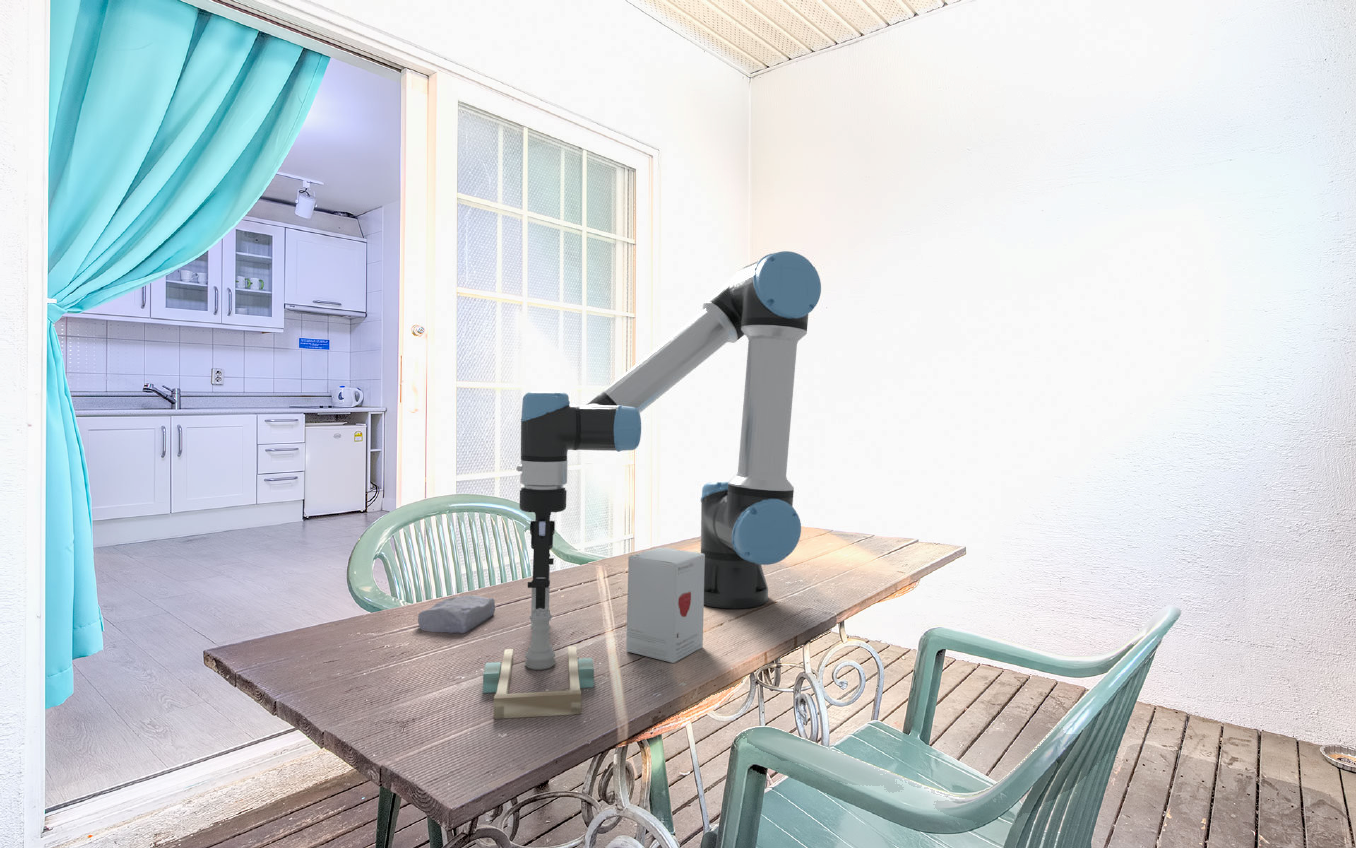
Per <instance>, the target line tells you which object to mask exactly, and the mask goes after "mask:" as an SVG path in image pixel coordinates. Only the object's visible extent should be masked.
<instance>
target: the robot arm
mask: <svg viewBox="0 0 1356 848" xmlns="http://www.w3.org/2000/svg"><path fill="white" fill-rule="evenodd" d="M821 283H822V282H821V278H820V275H819V272H818V271H817V269H816V266H814V265H813V264H812V263H811V261H810V260H809V259H808V258H806V257H805V256H804V255H802V254H800V253H797V252H794V251H788V250H786V251H785V250H782V251H778V252H773V253H769V254H767V255H764V256H763V257H762V258H760V259H759V260H757V261H755V262H753V263H751V264H748V265H746V266H745V267H743V268H741V269H740V270H738V271H737V273H735V274H734V275H733V276H732V277H731V278H730V279H729V280H728V281H727V282H726V283H725V284H724V285H723V286H722V287H721V288H720V289H719V290H718V291H717V292H715V294H714V295H712V296H711V297H709V299H707V300H706V301H705V302H704V303H703V304H702V310H701V312H700V313H699V314H697V315H696V316H695V317H694V318H692V319H691V320H690V321H688V322H687V323H686V324H685V325H684V326H683V327H681V328H680V329H678V330H677V331H676V332H675V333H674V334H673V335H671V336H670V337H669V338H668V339H666V340H665V341H663V342H662V343H661V344H660V345H658V347H656V348H655V349H654V350H652V351H651V352H650V353H649V354H648V355H646V356H645V357H644V358H643V359H641V360H640V361H639V362H637V364H635V365H634V366H633V367H631V368H630V369H629V370H628V371H627V372H625V373H624V374H623V375H621V376H620V377H619V378H617V380H615V381H614V382H613V383H611V384H610V385H609V386H608V387H607V388H605V389H603V391H602V392H601V393H599V394H598V395H597V396H596V397H594V398H593V399H592V400H591V401H589V402H588V403H586V404H584V405H583V404H582V405H579V404H571V403H570V400H569V394H567V393H566V392H554V391H553V392H551V391H530V392H527V393H525V394H524V396H523V397H522V405H521V418H520V464H521V465H517V466H516V471H517V472H521V473H520V474H519V475H520V484H521V485H523V486H522V487H521V488H520V489H519V509H520V510H521V511H522V512H524V513H525V512H526V513H534V515H535V520H534V519H533V520H530V523H529V533H530V535H531V536H530V537H531V539H530V544H531V545H530V547H531V550H533V556H532V558H533V559H532V561H533V562H532V580H531V581H527V589H531V602H530V603H531V604H530V605H531V606H530V609H531V610H530V613H531V614H532V611H533V609H537V611H538V608H542V611H544V609H545V608H547V609H548V610H550V592H551V591H550V587H551V586H550V585H551V580H550V579H551V574H550V573H551V565H554V562H555V561H554V560H555V559H554V558H553V557H552V558H551V553H550V550H552V549H553V545H554V543H553V542H554V535H555V530H556V529H555V528H556V522H555V520H553V519H552V520H551V515H552V513H560V512H563V511H565V510H566V509H567V494H568V493H567V492H568V491H567V489H566V487H564V486H565V485H566V484H568V463H569V462H568V453H569V452H568V451H615V452H622V451H623V452H624V451H634V450H636V449H638V447H639V445H640V442H641V438H642V437H641V436H642V419H641V413H642V412H643V411H645V409H647V408H648V407H650V406H651V405H652V404H653V403H654V402H656V400H658V399H659V398H660V397H662V396H663V395H665V394H666V392H668V391H669V390H670V389H671V388H673V387H674V386H675V385H677V383H679V382H680V381H681V380H682V379H684V378H685V377H686V376H687V375H688V374H690V373H691V372H692V371H693V370H696V368H697V367H698V366H700V365H702V363H703V362H705V360H708V359H709V358H710V357H711V356H712V355H713V354H714V353H715V352H717V351H718V350H719V349H720V348H722V347H723V346H725V344H726V343H734V344H735V343H736V342H737V341H739V340H740V339H741V338H742V337H744V336H746V337H747V340H748V342H747V343H748V344H747V358H746V367H745V368H746V369H745V381H744V391H743V393H744V394H743V405H742V416H741V417H742V418H741V426H740V427H741V431H740V439H739V440H740V441H739V454H738V466H737V474H736V475H733V477H732V478H731V479H730V480H729V481H721V482H718V481H717V482H715V481H714V482H707V483H705V484H703V487H702V488H701V497H700V503H701V504H700V505H701V507H700V508H701V509H700V510H701V513H700V514H701V516H700V519H701V520H700V553H703V554H705V566H704V606H707V607H712V608H719V609H751V608H756V607H759V606H762V605H764V604H766V603H767V602H768V600H769V587H768V584H767V583H768V582H767V580H766V577H765V573H764V571H763V570H764V569H763V566H768V565H774V564H777V563H780V562H781V561H784V560H785V559H786V558H787V557H788V556H789V555H790V554H792V553H793V552H794V550H795V549H796V548H797V546H798V543H799V541H800V539H801V535H802V534H801V533H802V524H801V519H800V517H799V514H798V513H797V511H796V509H795V508H794V507H793V504H794V493H795V492H794V491H795V487H794V486H793V485H792V483H791V482H790V481H789V480H788V478H787V469H788V456H789V446H790V436H791V435H790V434H791V433H790V432H791V420H792V411H793V400H794V399H793V396H794V387H795V386H794V384H795V372H796V363H797V362H796V360H797V347H798V343H799V341H800V340H802V339H803V338H804V337H805V336H806V335H807V334H808V325H809V324H808V323H809V314H810V313H811V312H812V311H813V310H814V309H815V308H816V306H817V304H818V303H819V301H820V298H821V294H822V284H821ZM531 614H530V615H531ZM532 624H533V623H532V621H531V620H530V628H531V627H532Z"/></svg>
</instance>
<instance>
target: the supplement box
mask: <svg viewBox="0 0 1356 848" xmlns="http://www.w3.org/2000/svg"><path fill="white" fill-rule="evenodd" d="M627 563H628V565H627V567H628V570H627V571H628V572H627V599H626V601H627V606H626V607H627V608H626V609H627V611H626V639H625V640H626V646H625V651H626V653H627V652H628V653H633V654H635V655H641V656H643V657H648V658H651V659H656V660H660V661H665V662H666V663H667V662H668V663H671V664H675V663H677V662H678V661H680V660H682V659H683V658H686V657H687V656H689V655H691V654H692V653H694V652H696V651H698V650H700V649H702V648H703V646H704V642H703V641H704V612H705V611H704V610H705V609H704V606H705V605H704V566H705V554H703V553H701V552H697V551H690V550H689V551H687V550H680V549H675V548H669V547H662V546H659V547H656V548H652V549H649V550H643V551H640V552H639V553H635V554H632V555H629V556H628V562H627Z"/></svg>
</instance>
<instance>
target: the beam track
mask: <svg viewBox="0 0 1356 848" xmlns="http://www.w3.org/2000/svg"><path fill="white" fill-rule="evenodd" d="M503 652H504V653H503V659H502V661H497V662H486V663H485V665H484V669H483V673H482V693H483V694H487V693H488V694H489V693H495V694H494V696H493V720H500V719H501V720H502V719H517V718H535V717H551V716H567V715H568V716H569V715H570V716H571V715H582V690H581V688H582V689H585V688H594V687H595V686H594V684H595V683H594V681H595V679H594V678H595V668H594V667H595V666H594V659H593V657H590V658H589V657H585V658H578V654H577V646H575V645H574V646H573V645H572V646H571V645H570V646H567V665H568V669H567V670H568V683H569V686H568V687H569V690H556V691H555V690H554V691H553V690H552V691H551V690H550V691H537V692H535V691H534V692H519V693H518V692H517V693H515V692H514V693H509V688H510V682H511V681H510V680H511V675H512V670H513V669H512V668H513V662H514V649H513V648H506V649H504V651H503Z"/></svg>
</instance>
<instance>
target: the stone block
mask: <svg viewBox="0 0 1356 848" xmlns="http://www.w3.org/2000/svg"><path fill="white" fill-rule="evenodd" d="M495 602H496V601H495V599H494V597H490V598H488V597H485V596H480V595H473V594H470V595H468V594H466V595H465V594H464V595H459V596H454V597H449V598H446V599H443V600H442V601H439V602H438V603H435V604H434V605H433V606H431V608H429V609H426V610H422V611H420V612H419V613H418V617H417V623H418V626H419V628H420V630H421V631H427V632H430V633H431V632H432V633H435V632H437V633H451V634H466V633H468V632H469V631H471V630H472V629H474V628H476V627H478V625H481V624H482V623H484V622H485V621H487V620H489V619H490V618H491V617H493V615H494V614H495V612H496V603H495Z"/></svg>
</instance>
